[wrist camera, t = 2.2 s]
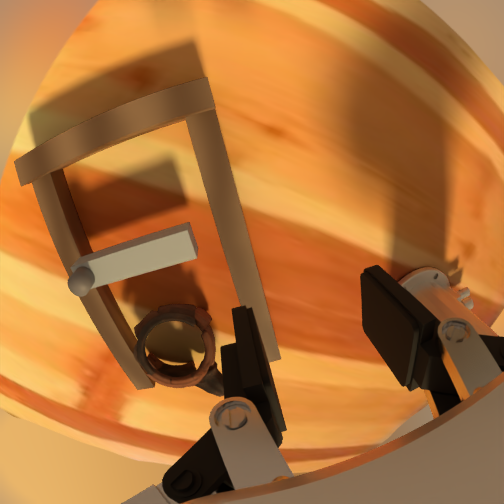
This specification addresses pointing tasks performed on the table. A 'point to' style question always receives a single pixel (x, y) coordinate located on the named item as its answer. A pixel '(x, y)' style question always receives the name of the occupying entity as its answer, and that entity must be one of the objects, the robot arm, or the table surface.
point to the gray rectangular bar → (133, 258)
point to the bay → (216, 185)
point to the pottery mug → (187, 373)
